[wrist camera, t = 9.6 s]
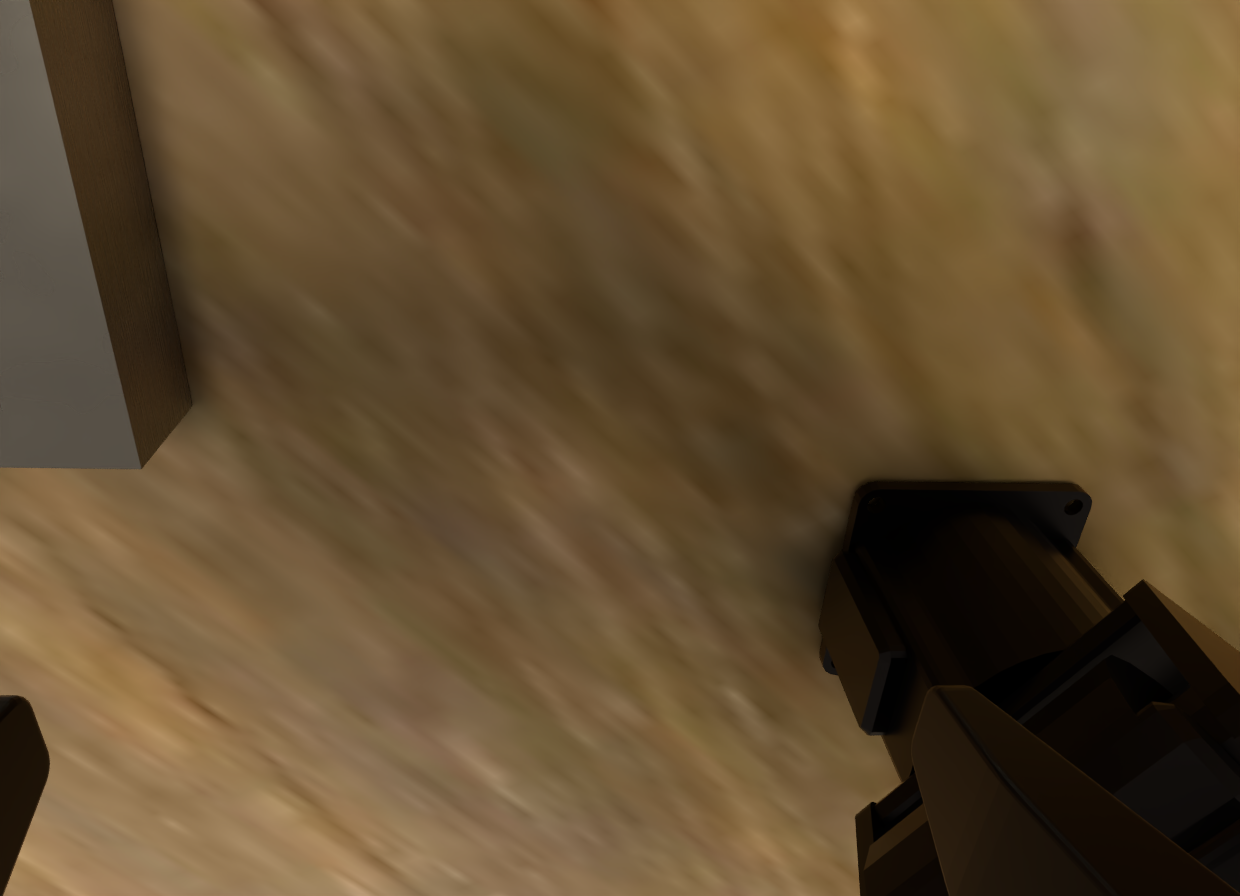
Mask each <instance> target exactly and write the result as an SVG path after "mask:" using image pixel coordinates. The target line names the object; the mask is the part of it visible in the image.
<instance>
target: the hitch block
mask: <svg viewBox="0 0 1240 896" xmlns="http://www.w3.org/2000/svg"><path fill="white" fill-rule="evenodd" d="M191 407H192V402H191V397H190V392H189V387H188V382H187V377H186V372H185V367H184V362H183V357H182V352H181V347H180V342H179V337H178V332H177V327H176V322H175V317H174V312H173V307H172V302H171V297H170V292H169V287H168V282H167V277H166V272H165V267H164V262H163V257H162V251H161V246H160V241H159V236H158V231H157V226H156V221H155V216H154V211H153V206H152V201H151V196H150V191H149V186H148V181H147V176H146V171H145V166H144V161H143V156H142V151H141V146H140V141H139V136H138V131H137V126H136V121H135V116H134V111H133V106H132V101H131V96H130V91H129V86H128V81H127V76H126V71H125V66H124V61H123V56H122V51H121V46H120V41H119V36H118V31H117V26H116V21H115V16H114V10H113V5H112V0H0V467H12V468H90V469H142V468H143V467H144V465H145V464H146V463H147V462H148V460H149V459H150V458H151V457H152V455H153V454H154V453H155V452H156V450H157V449H158V448H159V447H160V446H161V444H162V443H163V442H164V441H165V439H166V438H167V437H168V436H169V434H170V433H171V432H172V431H173V429H174V428H175V427H176V426H177V424H178V423H179V422H180V421H181V419H182V418H183V417H184V416H185V415H186V413H187V412H188V411H189V410H190V408H191Z"/></svg>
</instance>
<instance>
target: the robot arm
mask: <svg viewBox="0 0 1240 896" xmlns="http://www.w3.org/2000/svg"><path fill="white" fill-rule="evenodd" d="M877 497H880V498H881V499H880V501H879V502H878V503H876V504H875V505H868V503H869V501H870V500H872V499H873V498H877ZM1071 500H1074V502H1073V503H1072V504H1071V505H1069V506H1067V507H1065V506H1066V504H1067V503H1068V502H1070V501H1071ZM1091 505H1092V500H1091V497H1090V496H1089V495H1088V494H1087V493H1086V492H1085V491H1084V490H1083V489H1082V488H1081V487H1080V486H1078V485H1075V484H1044V483H964V482H883V481H875V482H869V483H866V484H865V485H863V486H861V487H860V488H859V489H858V490H857V491H856V493H855V496H854V499H853V503H852V508H851V512H850V517H849V521H848V526H847V530H846V535H845V540H844V544H843V549H842V551H841V552H839V553H838V554H837V555H836V556H835V557H834V558H833V560H832V564H831V569H830V574H829V578H828V583H827V588H826V592H825V597H824V601H823V606H822V611H821V615H820V620H819V629H820V632H821V634H822V637H823V639H822V644H821V648H820V653H819V655H820V660H821V663H822V665H823V668H824V669H825V671H826V672H828V673H829V674H833V675H838V676H839V678H840V681H841V683H842V686H843V688H844V691H845V693H846V696H847V698H848V700H849V703H850V705H851V708H852V710H853V713H854V715H855V718H856V720H857V722H858V725H859V727H860V728H861V729H862V730H863V731H864V732H865V733H866V734H867V735H881V736H882V739H883V741H884V743H885V746H886V748H887V750H888V753H889V755H890V757H891V760H892V762H893V764H894V767H895V769H896V771H897V773H898V776H899V778H900V780H901V784H900V785H899V786H898V787H896V788H895V789H894V790H893V791H892V792H890V793H889V794H888V795H887V796H885V797H884V798H883V799H882V800H881V801H879V802H878V803H875V802H871V803H870V804H869V805H867V806H866V807H865V808H864V809H863V810H861V811H860V812H859V813H858V814H857V815H856V816H855V822H856V837H857V852H858V867H859V883H860V896H1240V652H1239V651H1238V650H1236V649H1235V648H1234V647H1232V646H1231V645H1230V644H1228V643H1227V642H1226V641H1225V640H1223V639H1222V638H1221V637H1219V636H1218V635H1217V634H1215V633H1214V632H1213V631H1211V630H1210V629H1209V628H1207V627H1206V626H1205V625H1203V624H1202V623H1201V622H1199V621H1198V620H1197V619H1195V618H1194V617H1193V616H1192V615H1190V614H1189V613H1188V612H1186V611H1185V610H1184V609H1182V608H1181V607H1180V606H1178V605H1177V604H1176V603H1174V602H1173V601H1172V600H1170V599H1169V598H1168V597H1166V596H1165V595H1164V594H1163V593H1161V592H1160V591H1159V590H1157V589H1156V588H1155V587H1153V586H1152V585H1151V584H1149V583H1148V582H1147V581H1145V580H1144V579H1143V580H1141V581H1140V582H1139V583H1138V584H1137V585H1135V586H1134V587H1133V588H1132V589H1130V590H1129V591H1128V592H1127V593H1126V594H1124V595H1123V597H1124V598H1125V601H1123V600H1122V598H1121V597H1120V596H1119V595H1118V594H1117V593H1116V592H1115V591H1114V590H1113V588H1112V587H1111V586H1110V585H1109V584H1108V583H1107V582H1106V581H1105V580H1104V579H1103V577H1102V576H1101V575H1100V574H1099V573H1098V572H1097V571H1096V570H1095V569H1094V568H1093V566H1092V565H1091V564H1090V563H1089V562H1088V561H1087V560H1086V559H1085V558H1084V556H1083V555H1082V554H1081V553H1080V552H1079V551H1078V550H1077V549H1076V546H1077V544H1078V541H1079V538H1080V536H1081V533H1082V530H1083V528H1084V525H1085V522H1086V520H1087V517H1088V514H1089V512H1090V509H1091ZM49 767H50V759H49V753H48V750H47V747H46V744H45V742H44V739H43V736H42V733H41V731H40V728H39V725H38V722H37V720H36V717H35V714H34V712H33V709H32V706H31V704H30V702H29V701H28V700H26V699H25V698H24V697H21V696H18V695H1V696H0V896H3V894H4V892H5V889H6V887H7V884H8V881H9V879H10V876H11V873H12V871H13V868H14V866H15V863H16V860H17V858H18V855H19V852H20V850H21V847H22V845H23V842H24V839H25V837H26V834H27V831H28V829H29V826H30V824H31V821H32V818H33V816H34V813H35V810H36V808H37V805H38V803H39V800H40V797H41V795H42V792H43V789H44V787H45V784H46V781H47V778H48V774H49Z"/></svg>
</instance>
